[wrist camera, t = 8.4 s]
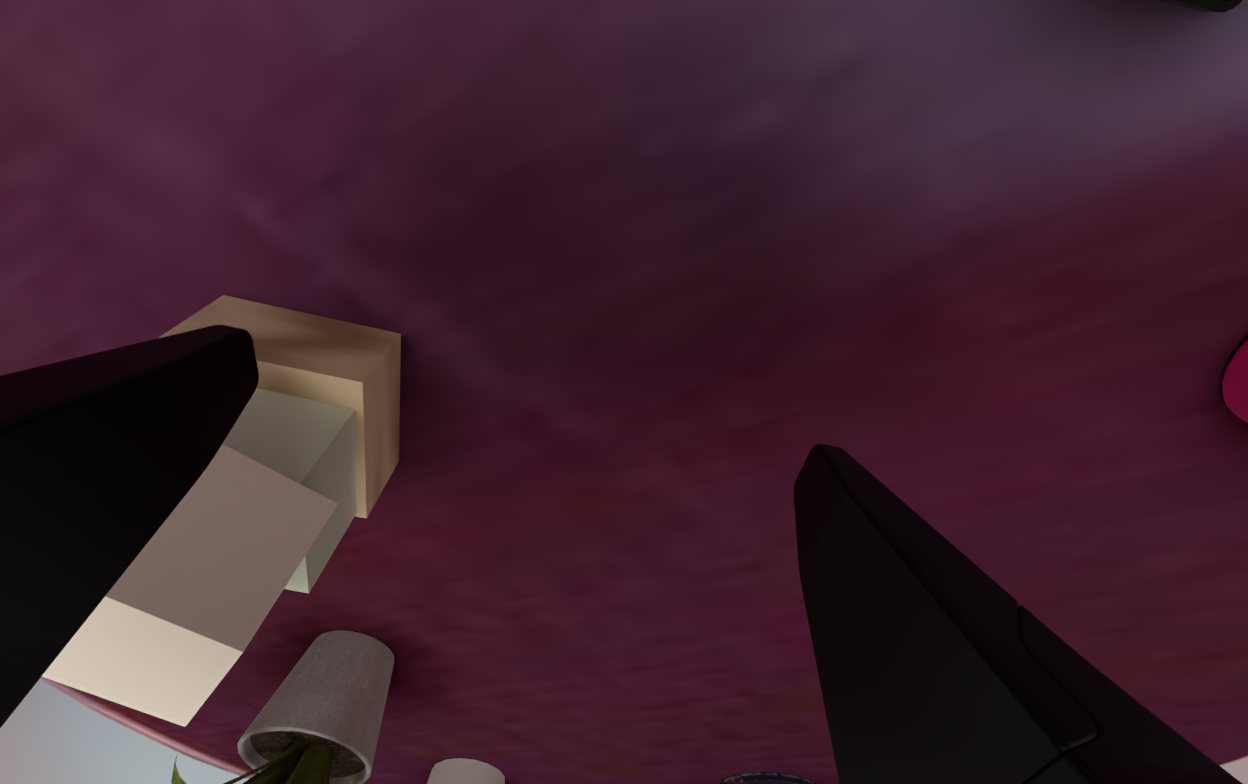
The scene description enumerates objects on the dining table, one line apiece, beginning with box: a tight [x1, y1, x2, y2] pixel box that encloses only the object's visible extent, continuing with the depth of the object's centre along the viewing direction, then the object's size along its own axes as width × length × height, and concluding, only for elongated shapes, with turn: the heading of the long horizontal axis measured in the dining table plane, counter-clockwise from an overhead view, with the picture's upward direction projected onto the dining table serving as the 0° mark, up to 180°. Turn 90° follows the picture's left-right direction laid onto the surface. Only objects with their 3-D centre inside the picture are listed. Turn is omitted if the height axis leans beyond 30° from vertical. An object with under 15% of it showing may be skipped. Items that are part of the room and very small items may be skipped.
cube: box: [42, 444, 338, 727], centre depth 16 cm, size 5×5×5 cm
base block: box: [159, 295, 401, 518], centre depth 24 cm, size 7×7×4 cm
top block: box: [223, 388, 357, 593], centre depth 21 cm, size 6×6×4 cm
